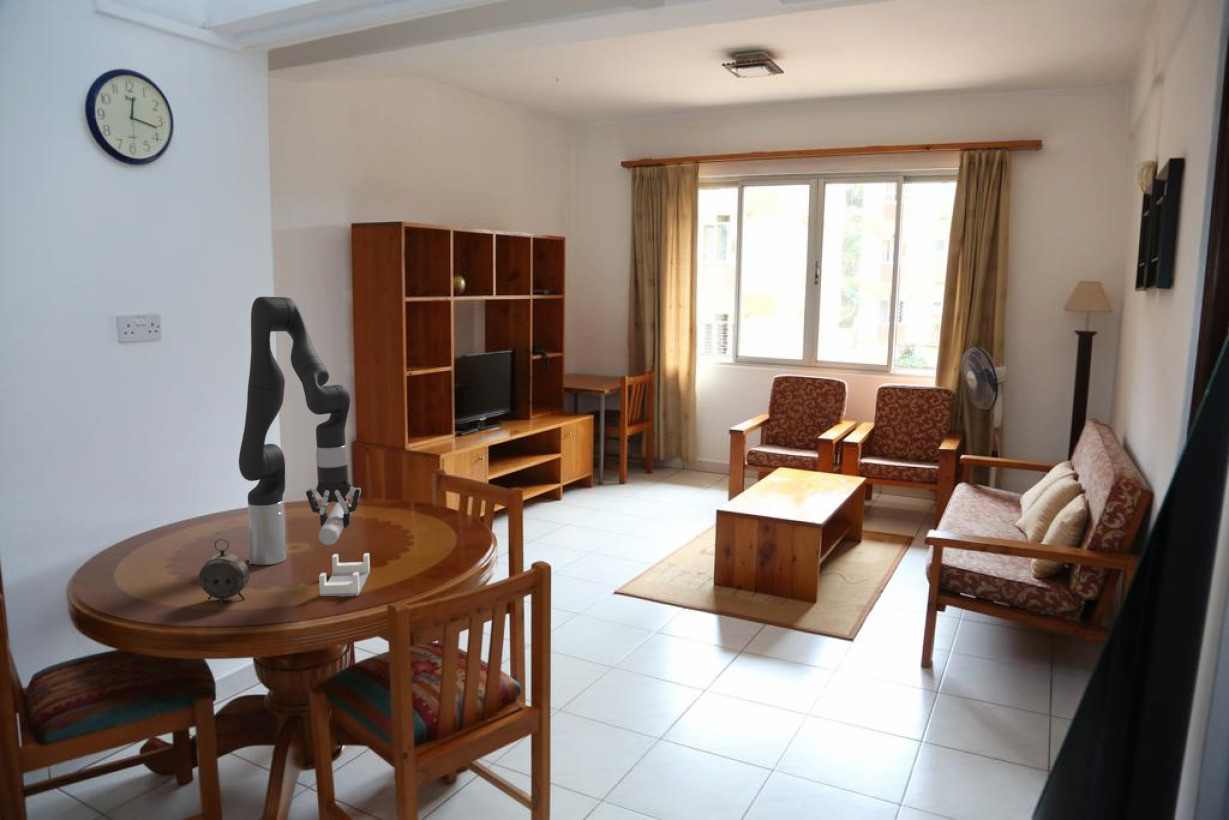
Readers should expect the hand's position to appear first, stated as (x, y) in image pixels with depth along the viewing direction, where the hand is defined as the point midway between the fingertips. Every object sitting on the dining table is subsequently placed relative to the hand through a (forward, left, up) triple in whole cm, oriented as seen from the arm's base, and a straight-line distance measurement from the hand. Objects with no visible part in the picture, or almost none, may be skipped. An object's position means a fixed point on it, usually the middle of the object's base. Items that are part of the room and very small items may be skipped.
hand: (336, 527), depth 225 cm
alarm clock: (-26, -9, -16) cm, 32 cm away
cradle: (+2, +1, -16) cm, 16 cm away
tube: (0, 0, -2) cm, 2 cm away
